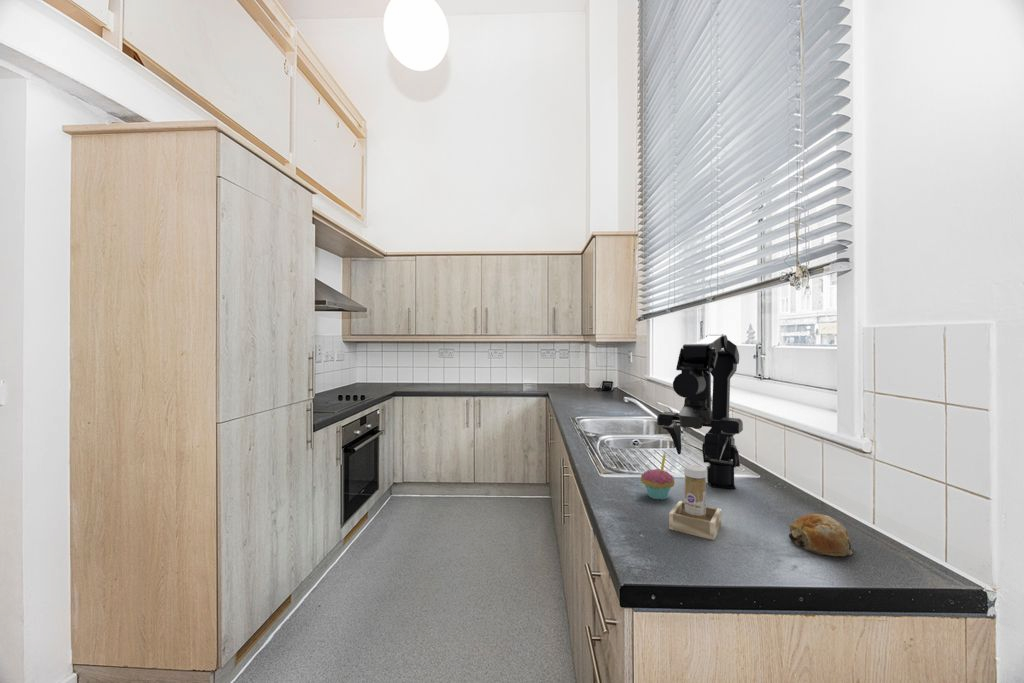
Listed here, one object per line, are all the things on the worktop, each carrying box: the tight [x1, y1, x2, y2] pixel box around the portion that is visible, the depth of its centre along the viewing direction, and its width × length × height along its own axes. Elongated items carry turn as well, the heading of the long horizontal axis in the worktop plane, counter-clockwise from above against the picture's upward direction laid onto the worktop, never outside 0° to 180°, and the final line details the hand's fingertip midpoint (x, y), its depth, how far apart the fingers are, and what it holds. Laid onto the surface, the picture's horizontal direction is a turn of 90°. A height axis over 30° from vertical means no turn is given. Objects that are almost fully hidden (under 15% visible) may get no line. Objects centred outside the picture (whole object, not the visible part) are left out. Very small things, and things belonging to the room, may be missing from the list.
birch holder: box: [668, 500, 723, 541], centre depth 95 cm, size 9×9×4 cm
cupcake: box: [640, 451, 675, 500], centre depth 113 cm, size 9×8×12 cm
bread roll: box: [788, 513, 853, 557], centre depth 86 cm, size 10×10×8 cm
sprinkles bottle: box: [683, 464, 707, 520], centre depth 95 cm, size 5×5×14 cm
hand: (698, 457), depth 104 cm, fingers open, 9 cm apart
